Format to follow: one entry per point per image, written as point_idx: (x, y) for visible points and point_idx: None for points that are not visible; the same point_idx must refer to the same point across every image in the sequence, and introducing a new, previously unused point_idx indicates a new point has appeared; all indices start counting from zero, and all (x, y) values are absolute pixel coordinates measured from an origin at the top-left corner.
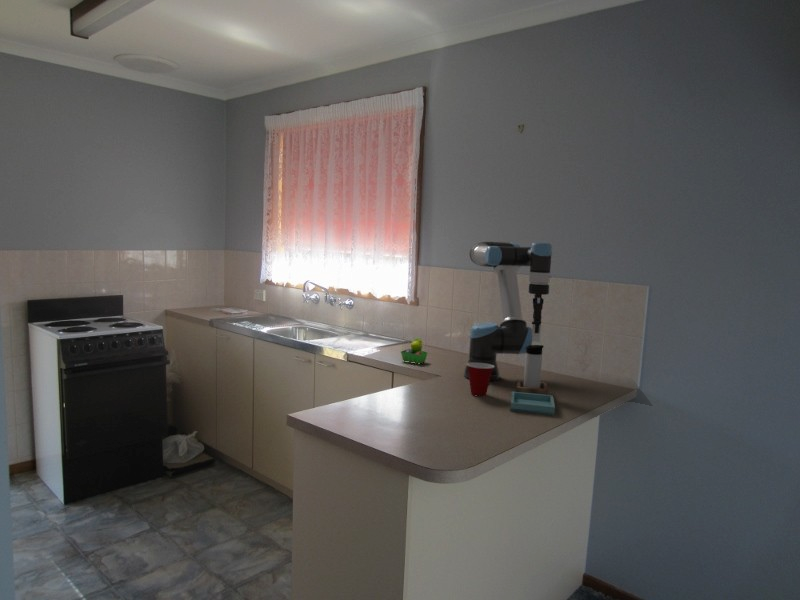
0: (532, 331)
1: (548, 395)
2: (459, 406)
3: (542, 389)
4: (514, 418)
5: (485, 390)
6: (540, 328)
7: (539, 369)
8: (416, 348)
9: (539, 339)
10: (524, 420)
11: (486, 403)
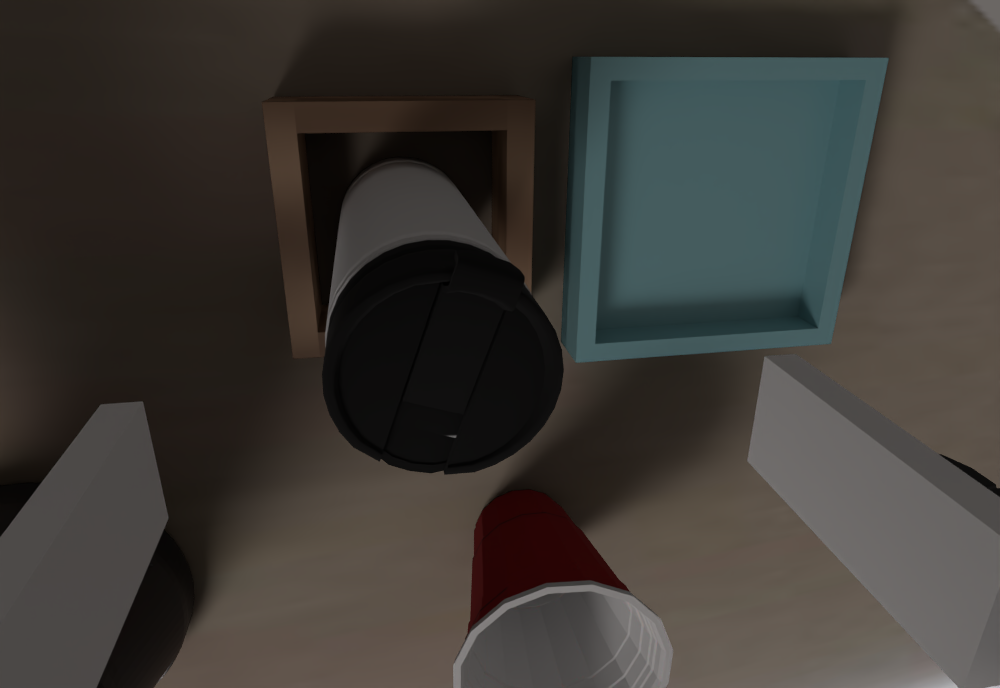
0: (146, 564)
1: (603, 95)
2: (763, 560)
3: (522, 147)
4: (915, 293)
5: (559, 510)
6: (977, 483)
7: (471, 215)
8: None
9: (818, 376)
10: (943, 239)
11: (685, 459)
